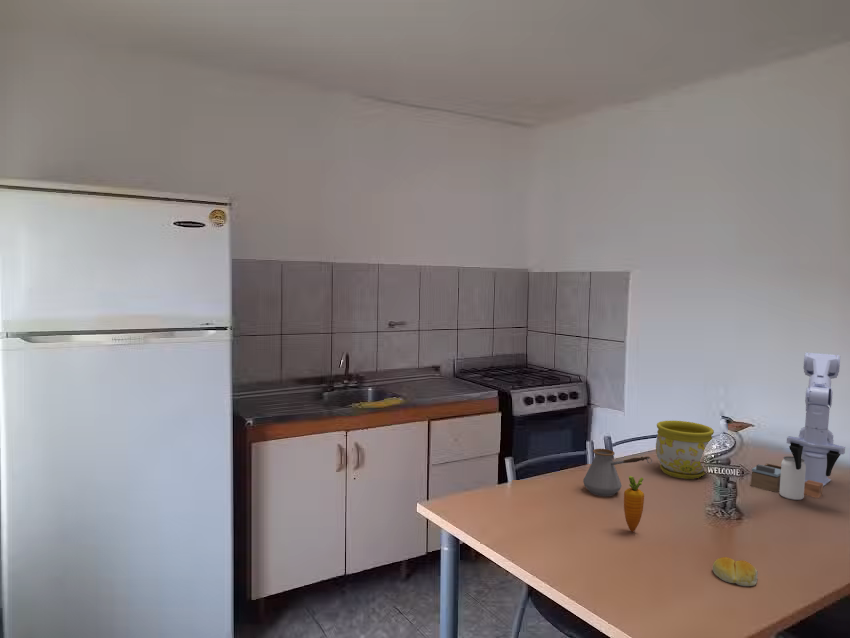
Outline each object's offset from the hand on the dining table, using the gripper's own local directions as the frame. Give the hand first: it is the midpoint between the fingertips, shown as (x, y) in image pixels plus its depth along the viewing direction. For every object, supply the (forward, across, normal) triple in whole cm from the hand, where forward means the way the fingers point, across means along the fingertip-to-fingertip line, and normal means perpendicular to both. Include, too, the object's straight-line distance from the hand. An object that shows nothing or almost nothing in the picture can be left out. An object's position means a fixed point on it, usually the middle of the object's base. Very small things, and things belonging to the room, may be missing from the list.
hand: (813, 472), depth 177 cm
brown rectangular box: (+10, -14, +12) cm, 21 cm away
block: (+10, -2, +12) cm, 16 cm away
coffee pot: (+11, -41, -40) cm, 58 cm away
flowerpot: (+11, -38, -1) cm, 40 cm away
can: (+11, -6, +4) cm, 13 cm away
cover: (+5, -14, +8) cm, 18 cm away
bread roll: (+11, +2, -64) cm, 65 cm away
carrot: (+11, -25, -60) cm, 66 cm away
